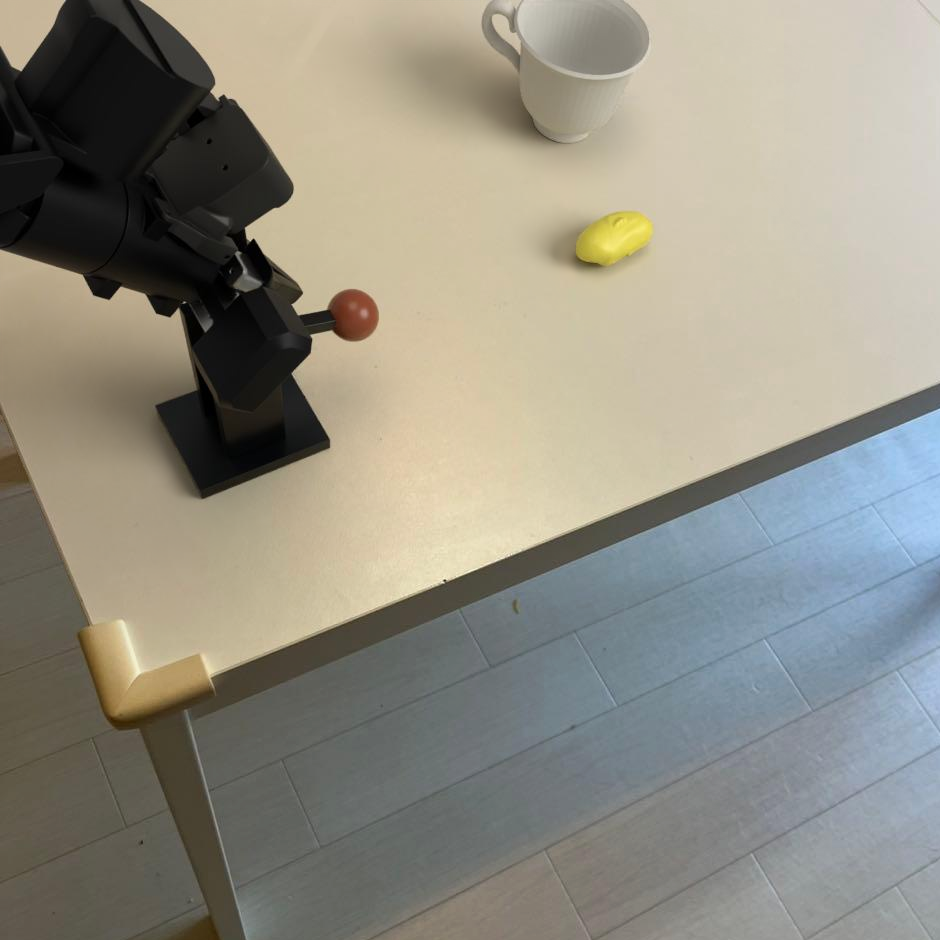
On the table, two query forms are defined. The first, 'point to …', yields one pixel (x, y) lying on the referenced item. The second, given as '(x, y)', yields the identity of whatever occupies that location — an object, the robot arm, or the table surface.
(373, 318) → the lever
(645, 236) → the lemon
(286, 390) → the bracket
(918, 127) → the table surface
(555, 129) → the teacup
